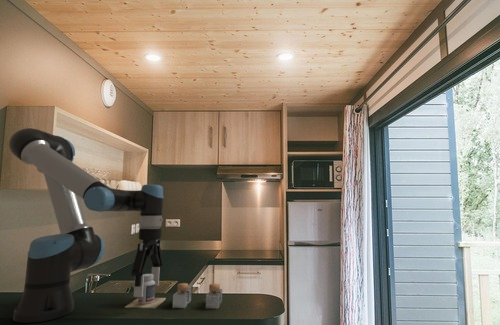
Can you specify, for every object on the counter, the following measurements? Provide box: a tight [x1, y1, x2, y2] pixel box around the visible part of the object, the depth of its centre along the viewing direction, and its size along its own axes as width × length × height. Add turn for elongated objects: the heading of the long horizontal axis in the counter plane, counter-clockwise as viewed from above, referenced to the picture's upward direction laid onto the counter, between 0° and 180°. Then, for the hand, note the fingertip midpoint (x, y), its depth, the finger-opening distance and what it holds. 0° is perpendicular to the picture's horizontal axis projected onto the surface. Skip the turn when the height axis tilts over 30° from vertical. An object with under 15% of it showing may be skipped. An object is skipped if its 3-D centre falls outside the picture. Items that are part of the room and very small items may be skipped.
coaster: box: [124, 297, 167, 310], centre depth 98 cm, size 10×10×1 cm
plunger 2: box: [208, 283, 221, 293], centre depth 97 cm, size 4×4×5 cm
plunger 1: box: [176, 282, 189, 292], centre depth 97 cm, size 4×4×5 cm
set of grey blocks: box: [172, 287, 223, 310], centre depth 97 cm, size 15×8×4 cm, turn 86°
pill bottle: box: [137, 273, 156, 304], centre depth 98 cm, size 5×5×9 cm
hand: (147, 290), depth 98 cm, fingers open, 13 cm apart
